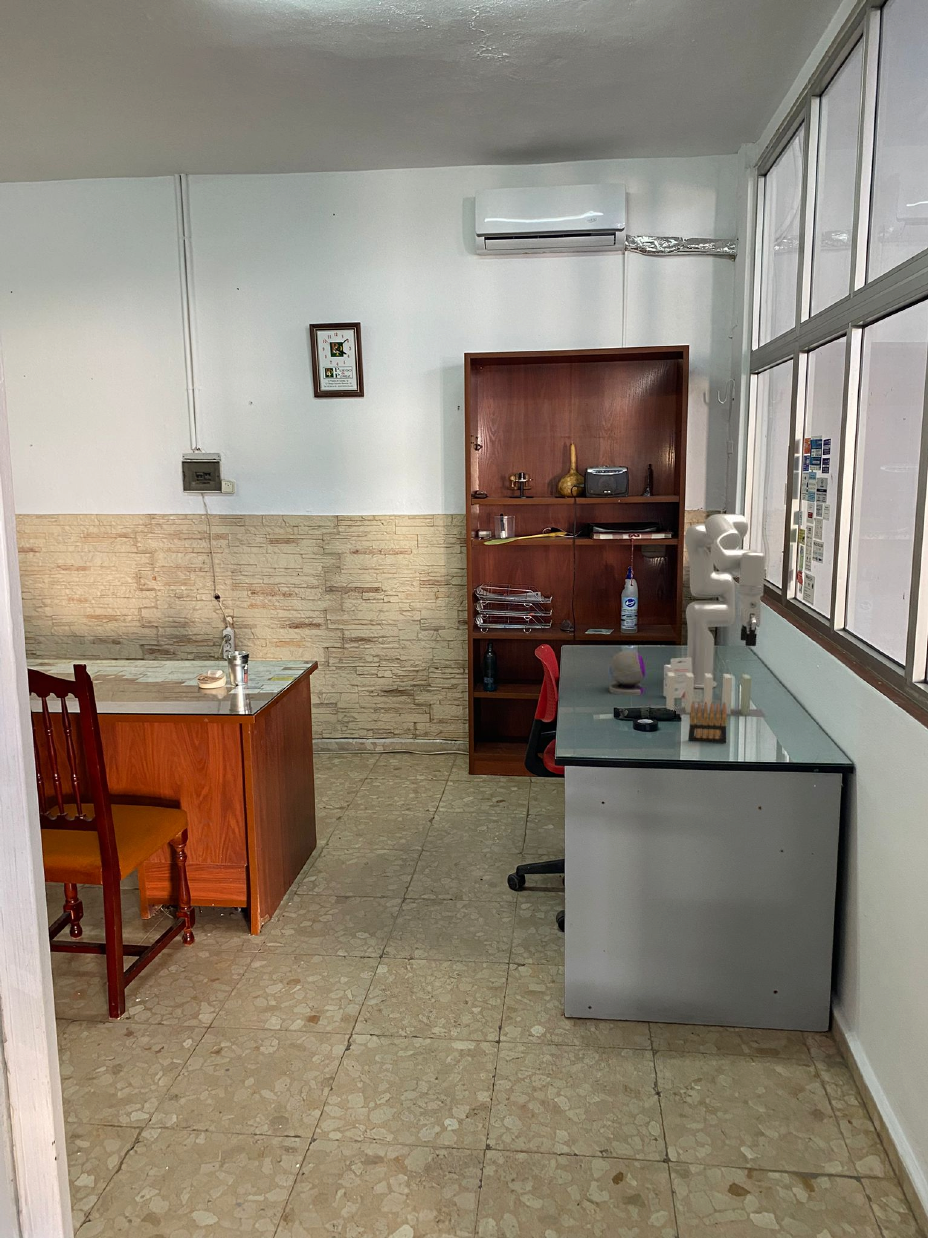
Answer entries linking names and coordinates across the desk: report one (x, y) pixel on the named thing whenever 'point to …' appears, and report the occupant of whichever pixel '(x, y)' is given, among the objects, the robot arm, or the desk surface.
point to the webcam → (627, 673)
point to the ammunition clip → (707, 724)
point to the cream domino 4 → (727, 692)
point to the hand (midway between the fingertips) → (748, 643)
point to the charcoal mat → (733, 711)
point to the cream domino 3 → (708, 690)
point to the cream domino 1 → (670, 690)
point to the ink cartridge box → (678, 675)
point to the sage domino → (745, 694)
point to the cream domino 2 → (689, 692)
